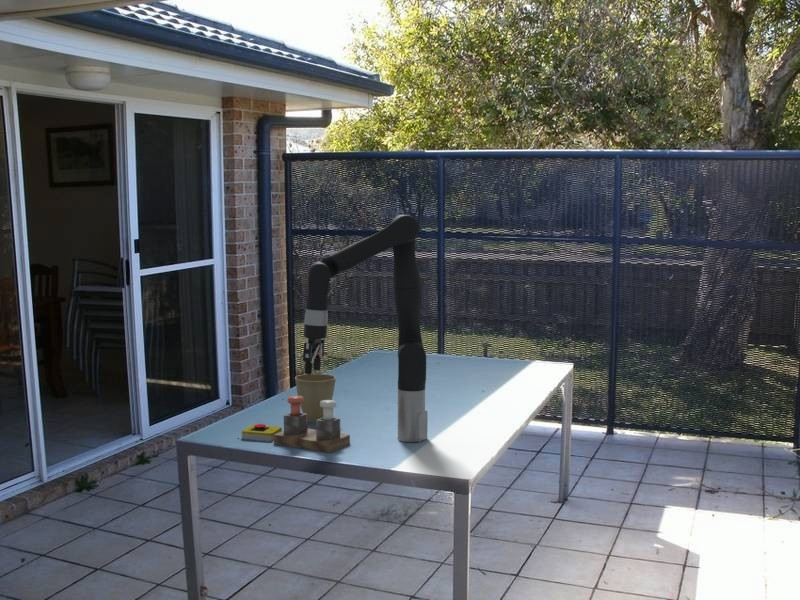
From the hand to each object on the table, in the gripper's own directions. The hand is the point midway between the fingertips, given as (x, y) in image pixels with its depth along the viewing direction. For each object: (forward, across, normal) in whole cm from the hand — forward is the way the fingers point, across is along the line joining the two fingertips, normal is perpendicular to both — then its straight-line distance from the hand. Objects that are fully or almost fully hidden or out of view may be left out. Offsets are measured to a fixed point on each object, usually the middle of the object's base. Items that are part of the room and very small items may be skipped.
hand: (312, 372), depth 266 cm
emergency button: (+26, +3, +17) cm, 31 cm away
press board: (+24, -1, -2) cm, 24 cm away
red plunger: (+16, 0, +5) cm, 17 cm away
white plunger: (+15, -3, -8) cm, 17 cm away
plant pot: (+24, +30, +7) cm, 38 cm away
